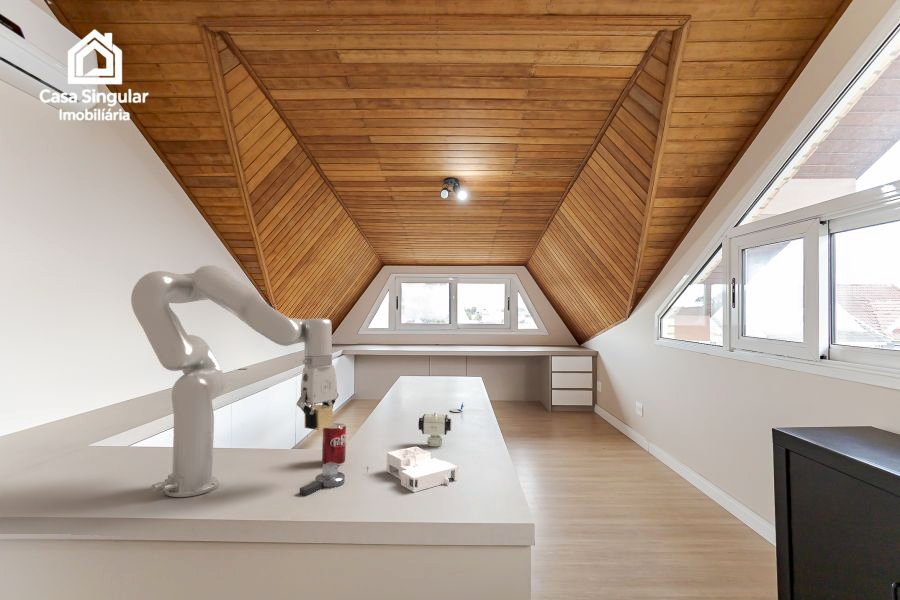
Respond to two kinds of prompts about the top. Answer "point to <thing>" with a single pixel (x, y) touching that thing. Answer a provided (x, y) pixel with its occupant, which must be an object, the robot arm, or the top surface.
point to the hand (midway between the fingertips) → (318, 425)
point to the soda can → (334, 444)
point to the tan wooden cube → (322, 416)
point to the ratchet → (325, 479)
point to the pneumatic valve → (434, 427)
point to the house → (419, 469)
